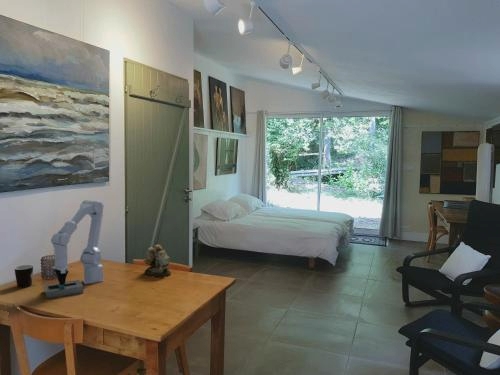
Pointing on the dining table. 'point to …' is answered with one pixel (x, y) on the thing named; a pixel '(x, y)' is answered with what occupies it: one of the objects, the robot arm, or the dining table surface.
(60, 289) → the keyhole plate
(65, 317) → the dining table surface
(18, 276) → the coffee mug
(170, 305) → the dining table surface
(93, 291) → the dining table surface
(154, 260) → the grey lumpy cluster
